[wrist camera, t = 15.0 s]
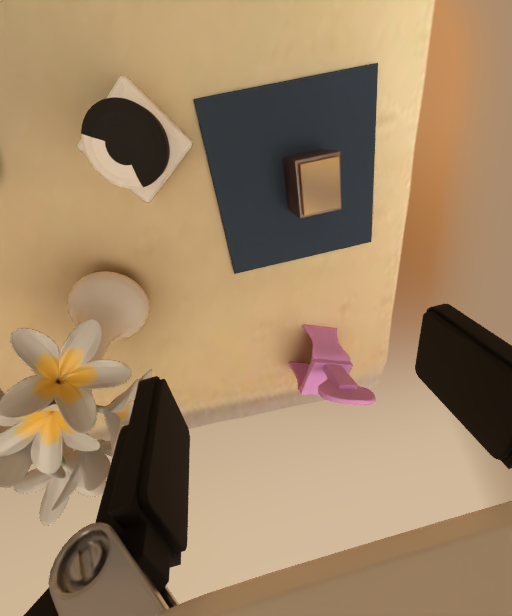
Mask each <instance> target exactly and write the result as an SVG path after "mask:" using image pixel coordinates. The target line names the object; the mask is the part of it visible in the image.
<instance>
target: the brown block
mask: <svg viewBox="0 0 512 616" xmlns="http://www.w3.org/2000/svg"><path fill="white" fill-rule="evenodd" d="M283 167H284V176H285V185H286V193H287V202H288V210H290V211H291V212H292V213H294V214H295V215H296V216H297V217H299V218H300V219H301V218H305V217H310V216H314V215H318V214H323V213H327V212H332V211H336V210H340V209H342V198H341V151H337V150H326V149H321V150H317V151H312V152H307V153H303V154H298V155H293V156H289V157H284V158H283Z"/></svg>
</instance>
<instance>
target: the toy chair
mask: <svg viewBox="0 0 512 616" xmlns="http://www.w3.org/2000/svg"><path fill="white" fill-rule="evenodd" d="M302 327H303V328H304V329H305V331H306V332H307V333H308V335H309V336H310V338H311V340H312V344H313V348H312V359H311V363H310V364H306V363H293V362H289V363H288V364H289V366H290V367H291V369H292V370H293V372H294V374H295V376H296V378H297V381H298V390H300V393H301V394H308V395H311V394H317V395H320V396H321V397H322V398H324V399H326V400H329V401H333V402H337V403H343V404H353V405H370V404H374V403H375V402H376V399H375V395H374V394H373V392H371V391H370V390H369V389H366V388H364V387H360V386H358V385H357V384H356V383H355V381H354V380H353V379H352V378H351V377H350V375H349V372H350V371H351V369H352V367H353V364H352V363H351V362H350V357H349V355H348V354H347V353H346V352H345V351H344V350H343V348H342V347H341V346H340V344H339V343H338V340H337V329H336V328H328V327H319V326H311V325H303V326H302Z"/></svg>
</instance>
